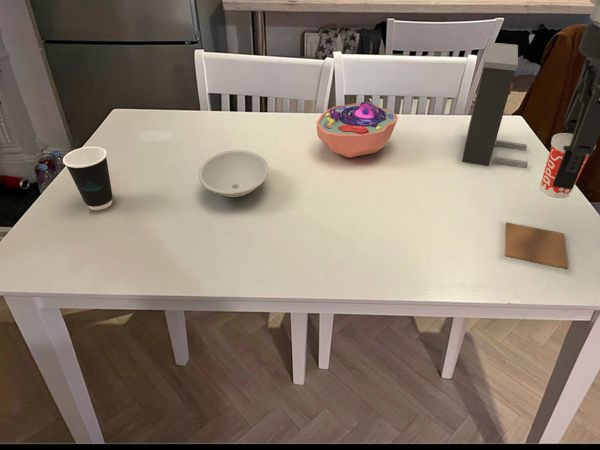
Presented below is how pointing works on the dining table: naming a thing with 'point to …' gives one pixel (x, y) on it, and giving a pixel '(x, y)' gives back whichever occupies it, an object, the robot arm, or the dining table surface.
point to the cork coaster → (535, 245)
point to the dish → (233, 172)
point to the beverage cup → (557, 166)
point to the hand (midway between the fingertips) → (560, 175)
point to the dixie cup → (90, 175)
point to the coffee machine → (492, 107)
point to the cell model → (356, 128)
